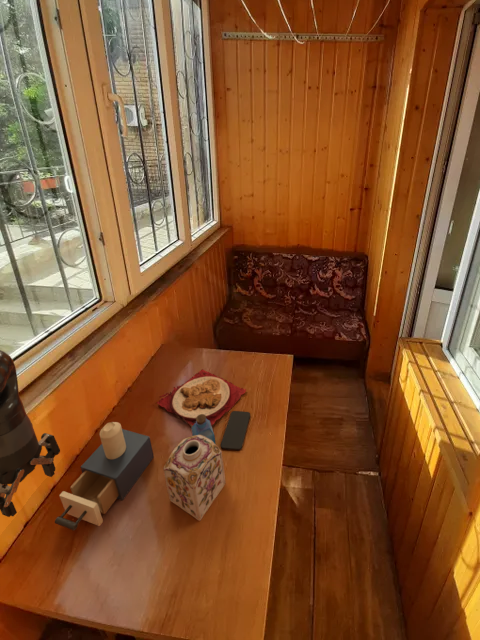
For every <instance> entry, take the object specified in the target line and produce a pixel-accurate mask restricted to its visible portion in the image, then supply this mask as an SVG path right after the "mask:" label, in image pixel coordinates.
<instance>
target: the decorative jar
mask: <svg viewBox="0 0 480 640" xmlns="http://www.w3.org/2000/svg"><path fill="white" fill-rule="evenodd" d="M215 444H216V443H215ZM215 444H214V442H213V441H212V440H210V439H208V438H207V437H205V436H202V435H195V436H192V435H191V436H188V437H185V438H183V439H182V440H181V441H180V442H179V443H178V444H177V445H176V446H175V447H174V448H173V450H172V451H171V453H170V455H169V457H168V458H167V460H166V462H165V464H164V466H163V468H162V469H163V476H164V480H165V485H166V490H167V495H168V498H169V501H170V502H171V503H173V504H174V505H175V506H177V507H178V508H180V509H182V510H183V511H184V512H185V513H187V514H188V515H190V516H192V517H193V518H194V519H196V520H197V521H199V522H200V521H202V519H203V517H204V516H205V515H206V513H207V512H208V510H209V509H210V508H211V506H212V505H213V503H214V502H215V500H216V499H217V497H218V496H219V494H220V493H221V491H222V490H223V488H224V487H225V485H226V474H225V472H226V471H225V465H224V458H223V452H222V449H221V448H220V447H219V446H218V445H217V444H216V445H215Z"/></svg>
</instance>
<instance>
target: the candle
mask: <svg viewBox="0 0 480 640" xmlns="http://www.w3.org/2000/svg"><path fill="white" fill-rule="evenodd" d="M122 429H123V428H122V425H121V423H120V422H118V421H111V422H107V423H106V424H105V425H103V427H102V428H101V429H100V431H99V438H100V442H101V444H102V445H103V449H104V452H105V455H106V457H107V458H108V459H116V458H118V457H120V456H121V455H122V454H123V453H124V452H125V450H126V443H125V440H124V436H123V432H122Z"/></svg>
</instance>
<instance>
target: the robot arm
mask: <svg viewBox="0 0 480 640" xmlns="http://www.w3.org/2000/svg"><path fill="white" fill-rule="evenodd" d="M43 447H44V448H45V450H46V454H45V455H41V453H42V449H43ZM60 453H61V447H60V446H59V444H58V442H57V440H56V437H55V435H53V434H50V433H47V432H44V433H42V434H41V436H40V440H38V438H37V434H36V431H35V429H34V425H33V422H32V421H31V418H30V417H29V415H28V414H27V412H26V409H25V406H24V404H23V401H22V398H21V396H20V391H19V381H18V374H17V369H16V364H15V362H14V360H13V358H12V357H11V355H9V354H8V353H7V352H5V351H4V350H1V349H0V512H1V515H2V516H5V517H8V518H10V517H15V515H16V514H17V513H18V511H17V509H16V507H15V505H14V502H13V501H12V500H13V496H14V495H15V493H17V491H18V488H19V485H20V483H22V482H23V481H24V480H25V479H26V477H27V476H28V475H29V474H31V473H32V472H33V471H35V470H36V466H40V465H41V468H42V470H43V472H44V475H45V476H46V477H50V478H52V477H53V476H55V474H56V473H55V472H56V466H55V462H54V460H55V457H56V456H57V455H59V454H60Z"/></svg>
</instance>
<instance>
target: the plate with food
mask: <svg viewBox="0 0 480 640" xmlns="http://www.w3.org/2000/svg"><path fill="white" fill-rule="evenodd" d="M246 392H247V389H246V388H243V387H239V386H237V385H236V384H235V385H234V383H233V382H231V381H228V380H226V379H224V378H223V377H220V376H218V375H216V374H215V373H211V372H210V371H206V370H205V369H203V368H202V369H200V370H199V371H198V372H197V373H195V374H194V376H192V377H191V378H189V379H188V380H187V381H185V382H184V383H183V384H181V385H177V386H176V387H175V386H174V387H173V390H171V391H170V392H169V393H168V392H166V393H164V394H162V395H161V396H159V398H160V399H159V400H158V401H157V402H156V403H157V404H158V405H159V406H160V408H164V409H165V410H166V411H167V412H169V413H170V414H172V415H174V416H176V418H178V419H180V417H181V418H182V422H185V423H186V424H188V425H189V426H190V427H192V426H193V425H194V424H195V423H196V417H197V416H198V415H200V414H204V415H205V416H206V419H208V420H209V421H210V423H211V426H212V427H213V426H214V424H215V423H216V421H217V420H220V418H221V417H222V416H224V415H225V414H227V413H228V412H229V411H230V410H231V409H232V408H233V407H235V405H236V403H237V402H238V401H239V400H240V399H241V397H242V395H244V394H245V393H246Z"/></svg>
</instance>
